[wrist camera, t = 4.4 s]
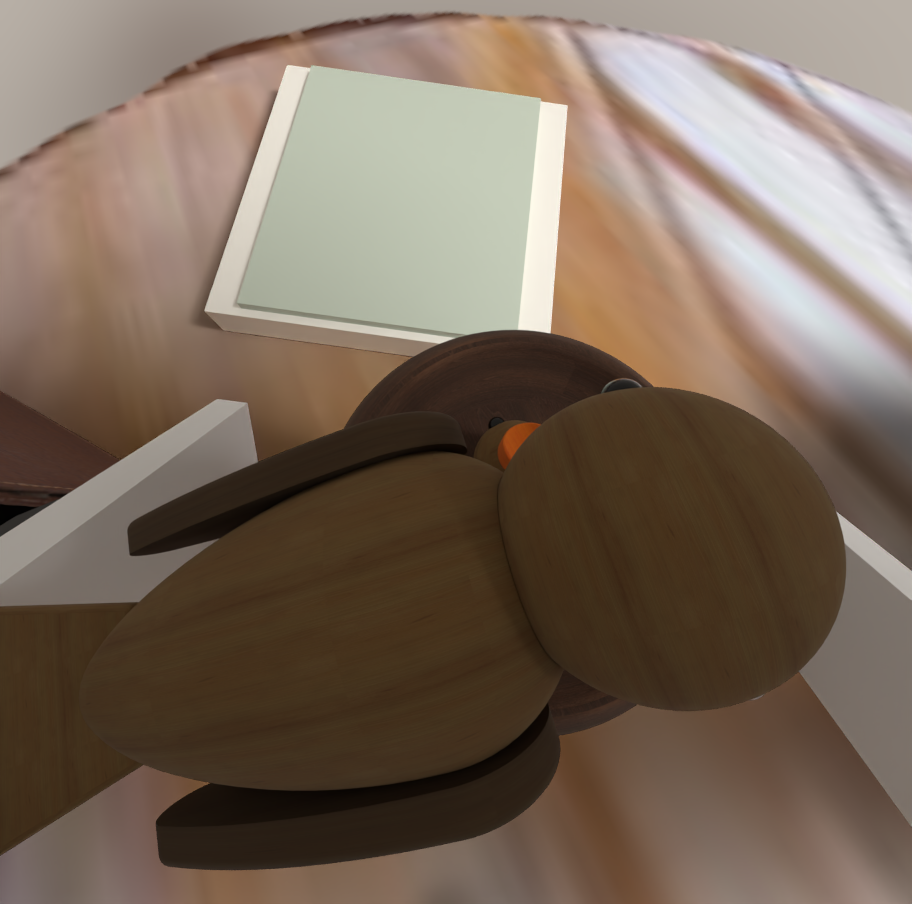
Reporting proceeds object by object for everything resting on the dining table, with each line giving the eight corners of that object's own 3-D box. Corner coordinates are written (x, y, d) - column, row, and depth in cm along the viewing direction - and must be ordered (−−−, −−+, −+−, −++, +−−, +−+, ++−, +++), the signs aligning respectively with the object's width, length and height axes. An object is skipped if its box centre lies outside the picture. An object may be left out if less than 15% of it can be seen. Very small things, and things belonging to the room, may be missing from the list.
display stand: (558, 135, 29) (569, 97, 26) (539, 374, 24) (550, 354, 21) (297, 97, 28) (284, 56, 26) (223, 330, 23) (198, 305, 21)
